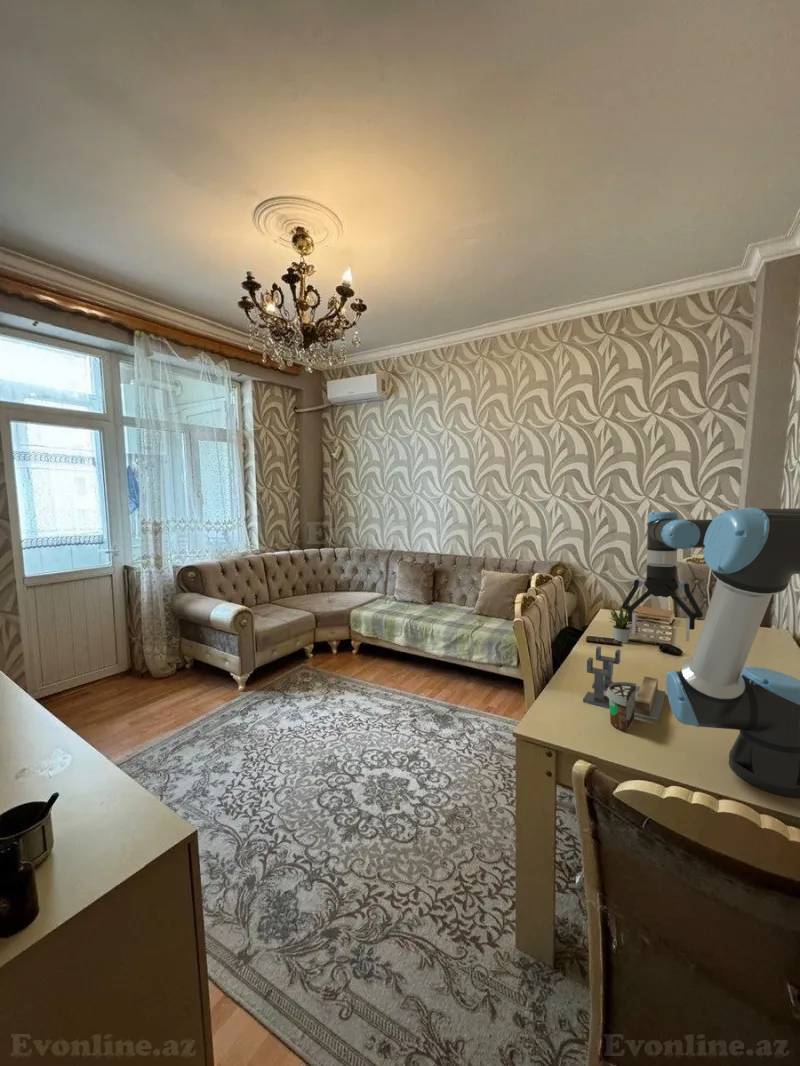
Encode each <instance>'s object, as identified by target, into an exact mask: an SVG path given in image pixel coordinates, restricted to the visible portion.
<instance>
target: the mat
mask: <svg viewBox="0 0 800 1066" xmlns="http://www.w3.org/2000/svg"><path fill="white" fill-rule="evenodd" d="M640 687H641V685H637V684H636V696H635V698H636V697H637V694H638V692H639V690H640ZM666 693H667V690H666V691H665V690H660V689H658V690H657V693H656V696H655V699H654V702H653V705H652V709H651V712H650V716H649V717H648V716H644V715H640V714H636V713H635V716H634V718H636V719H640V720H643V721H644V720H645V721H649V722H653V723H656V724H659V721H660V716H661V713H662V708H663V705H664V701H665V697H666Z"/></svg>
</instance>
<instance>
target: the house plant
mask: <svg viewBox="0 0 800 1066" xmlns="http://www.w3.org/2000/svg"><path fill="white" fill-rule="evenodd" d="M608 607H609V608H610V609H611V610H610V609H609V610H608V611H610V615H611V617H610V616H609V617H607V618H608V619H610V620H612V621H609V623H613V624H614V625H612V631H613V638H614V639H615V640H619V641H621V642H622V643H621V644H628V643H629V639H630V635H631V632H632V627H630V626H628V625H632V622H629V621H628V611H627V610H626V611H625V613H624V609H622V606H621V605H619V604H617V607H618V609H619V614H618V612H616V610H615V609H614V608H613V607H611V606H609V605H608ZM633 611H636V613H637V612H642V610H637V609H634V610H633ZM614 639H613V640H614ZM615 640H614V641H615Z"/></svg>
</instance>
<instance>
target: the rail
mask: <svg viewBox="0 0 800 1066" xmlns="http://www.w3.org/2000/svg"><path fill="white" fill-rule="evenodd" d="M658 681H659V679H658V678H655V677H650V676H645V675H644V677H643V680H642V683H641V685H640V686H641V687H640V690H639V692H638V694H637V697H636V698H635V713H636V714H640V715H644V716H648V717H649V716H650V712H651V709H652V705H653V702H654V699H655V696H656V693H657V690H659V689H658V687H659V682H658Z"/></svg>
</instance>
